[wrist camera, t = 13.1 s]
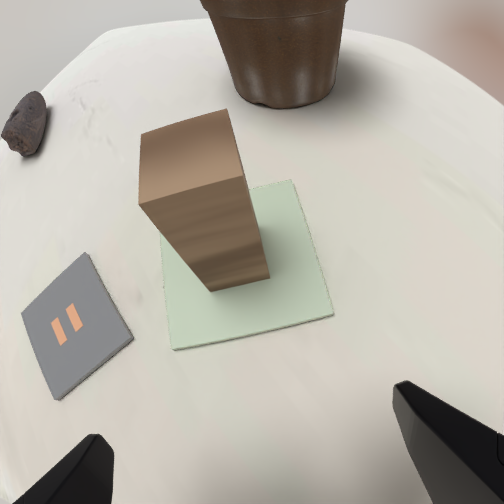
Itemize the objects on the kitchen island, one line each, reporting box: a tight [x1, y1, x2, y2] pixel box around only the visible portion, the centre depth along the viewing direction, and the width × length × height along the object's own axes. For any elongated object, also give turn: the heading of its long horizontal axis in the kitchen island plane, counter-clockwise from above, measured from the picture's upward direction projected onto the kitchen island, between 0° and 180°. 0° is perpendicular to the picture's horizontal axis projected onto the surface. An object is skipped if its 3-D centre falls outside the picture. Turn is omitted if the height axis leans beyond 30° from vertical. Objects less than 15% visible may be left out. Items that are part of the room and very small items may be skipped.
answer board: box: [160, 180, 334, 350], centre depth 25 cm, size 12×12×1 cm
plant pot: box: [200, 0, 348, 108], centre depth 27 cm, size 16×16×16 cm
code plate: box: [21, 252, 134, 400], centre depth 25 cm, size 10×10×1 cm
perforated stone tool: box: [1, 91, 47, 156], centre depth 37 cm, size 15×5×7 cm, turn 14°
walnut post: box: [139, 109, 270, 292], centre depth 19 cm, size 5×5×12 cm
